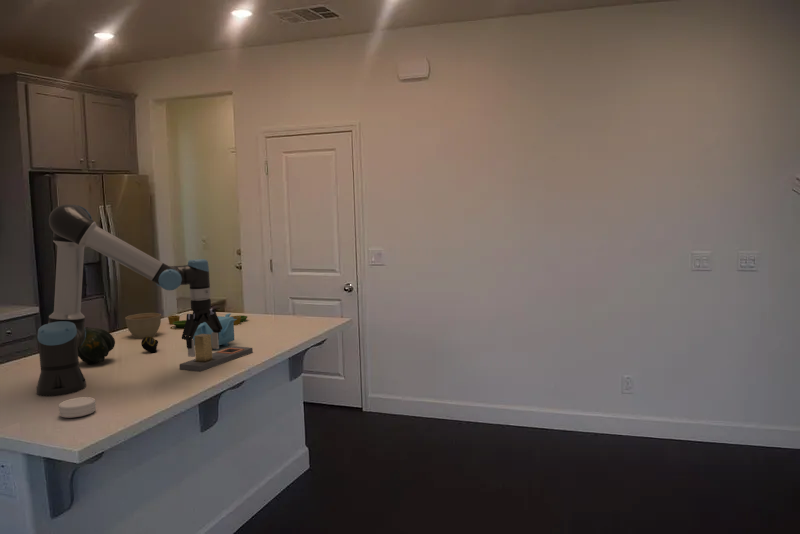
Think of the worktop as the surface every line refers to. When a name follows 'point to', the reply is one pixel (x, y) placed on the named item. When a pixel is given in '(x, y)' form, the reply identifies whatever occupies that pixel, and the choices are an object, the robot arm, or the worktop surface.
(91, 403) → the white round disc
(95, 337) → the squash
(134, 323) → the planter bowl
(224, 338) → the teakettle
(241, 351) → the dark grey flat board
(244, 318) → the tableware set
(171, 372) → the worktop surface
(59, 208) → the robot arm
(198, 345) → the wooden peg
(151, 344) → the tape measure
